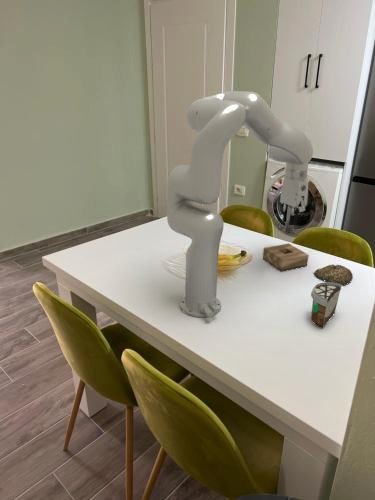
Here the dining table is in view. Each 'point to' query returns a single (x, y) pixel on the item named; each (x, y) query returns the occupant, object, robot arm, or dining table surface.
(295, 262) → the bore block
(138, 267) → the dining table surface
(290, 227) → the pin
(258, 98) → the robot arm
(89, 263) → the dining table surface
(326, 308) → the food container
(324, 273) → the bread roll
